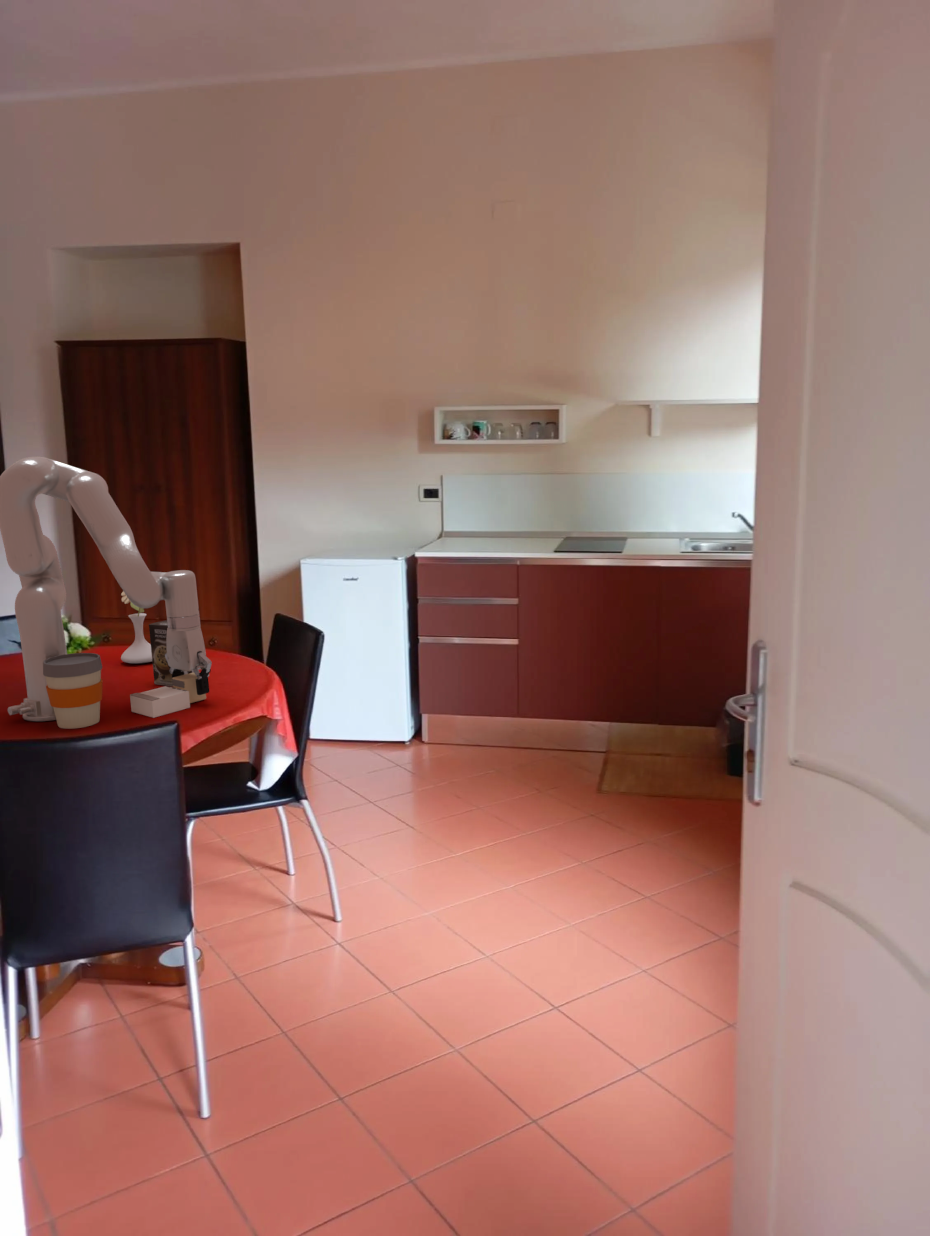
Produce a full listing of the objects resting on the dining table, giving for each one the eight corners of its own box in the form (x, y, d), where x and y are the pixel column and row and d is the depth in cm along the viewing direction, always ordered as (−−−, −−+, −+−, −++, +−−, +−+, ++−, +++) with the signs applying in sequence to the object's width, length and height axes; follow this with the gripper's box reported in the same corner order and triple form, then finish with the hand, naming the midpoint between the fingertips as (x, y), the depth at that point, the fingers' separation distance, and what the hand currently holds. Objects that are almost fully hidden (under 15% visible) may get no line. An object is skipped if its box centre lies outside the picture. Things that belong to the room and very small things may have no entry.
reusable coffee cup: (89, 731, 219) (82, 665, 216) (37, 730, 221) (29, 665, 219) (118, 715, 231) (111, 652, 228) (69, 714, 234) (62, 652, 231)
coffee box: (153, 684, 259) (147, 624, 256) (171, 678, 264) (165, 619, 261) (179, 687, 255) (173, 626, 252) (196, 681, 260) (191, 621, 257)
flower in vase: (119, 660, 288) (110, 575, 283) (159, 655, 293) (151, 571, 288) (124, 669, 276) (115, 581, 272) (166, 664, 281) (158, 577, 276)
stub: (185, 704, 237) (183, 680, 236) (174, 701, 240) (172, 677, 239) (206, 698, 242) (204, 674, 241) (195, 696, 245) (193, 672, 244)
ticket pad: (153, 717, 228) (151, 700, 227) (131, 711, 234) (129, 694, 233) (190, 707, 236) (188, 690, 235) (168, 701, 241) (166, 685, 241)
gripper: (149, 621, 240) (157, 690, 243) (192, 628, 229) (199, 699, 232) (175, 616, 246) (183, 683, 249) (218, 622, 235) (225, 692, 238)
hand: (191, 691), depth 241 cm, fingers open, 9 cm apart
